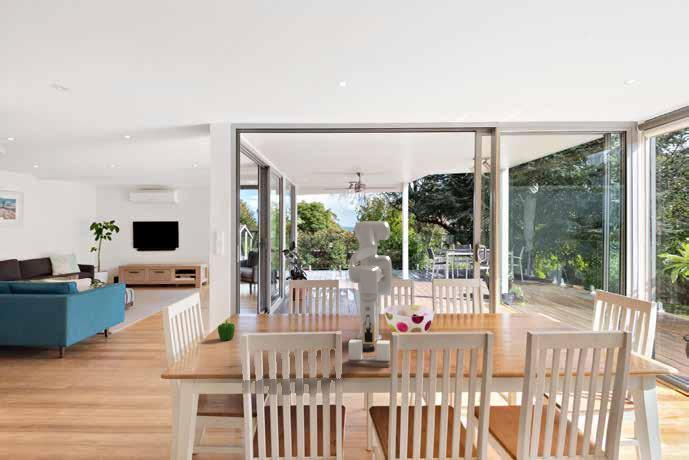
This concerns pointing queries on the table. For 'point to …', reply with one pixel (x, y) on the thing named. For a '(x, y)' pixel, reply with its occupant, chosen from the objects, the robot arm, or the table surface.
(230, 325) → the bell pepper
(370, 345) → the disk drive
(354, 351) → the rail board
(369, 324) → the block
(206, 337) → the table surface
